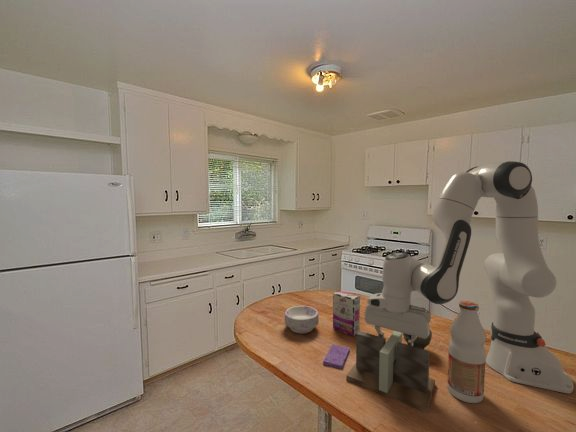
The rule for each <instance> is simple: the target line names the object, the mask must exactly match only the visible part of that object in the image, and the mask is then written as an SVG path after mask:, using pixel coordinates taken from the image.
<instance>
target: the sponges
mask: <svg viewBox="0 0 576 432" xmlns="http://www.w3.org/2000/svg"><path fill="white" fill-rule="evenodd" d="M350 350H351V348H350V347H349V346H348V347H347V346H341V345H335V344H331V345H330V348H329V350H328V352H327V354H326V356H325V357H324V358H323V361H322V364H323V365H324V366H328V367H332V368H333V367H334V368H338V369H343V367H344V364H345V362H346V360H347V358H348V356H349V354H350Z"/></svg>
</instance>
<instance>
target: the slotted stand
mask: <svg viewBox="0 0 576 432" xmlns="http://www.w3.org/2000/svg"><path fill="white" fill-rule="evenodd" d="M355 336H356V341H355V342H356V343H355V345H356V348H355V349H356V350H355V351H356V352H355V359H356V360H355V363H354V365H353V366H352V368H350V370H349V371H348V372H347V374H345V375H346V377H345V378H346V381H349V382H351V383H354V384H355V385H358V386H361V387H363V388H366V389H368V390H370V391H374V392H376V393H378V394H380V395H383V396H386V397H387V398H391V399H393V400H396V401H397V402H400V403H403V404H405V405H407V406H411V407H412V408H416V409H418V410H420V411H422V412H425V413H427V412H428V410H429V406H430V404H431V399H432V396H433V393H434V389H435V386H436V379H434V378H430V350H427V349H425V348H424V349H425V350H424V349H421V348H417V347H414V346H410V345H408V344H407V343H403V342H402V343H400V342H398V344H397V345H396V359H395V361H394V362H393V383H392V385H391V387H390V389H389V391H388V393H385V392H383V391H380V390H379V357H380V351H381V349H382V348H383V346H384V345H385V343H386V342H387V339H386V337H384V338H383V337H379V336H378V335H375V334H372V333H369V332H365V331H362V330H359V332H358V333H357V334H356V335H355Z"/></svg>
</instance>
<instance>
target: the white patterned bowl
mask: <svg viewBox="0 0 576 432" xmlns="http://www.w3.org/2000/svg"><path fill="white" fill-rule="evenodd" d="M284 311H285V312H284V323H285V326H286V327H288V328H290V330H291V331H292V332H293V333H295V334H296V333H297V334H307V333H310V332H312V331H313V330H314V328H316V327H317V326H318V325H319V310H317V309H316V308H314V307H313V306H309V305H296V306H291V307H288V308H287V309H286V310H284Z"/></svg>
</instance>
